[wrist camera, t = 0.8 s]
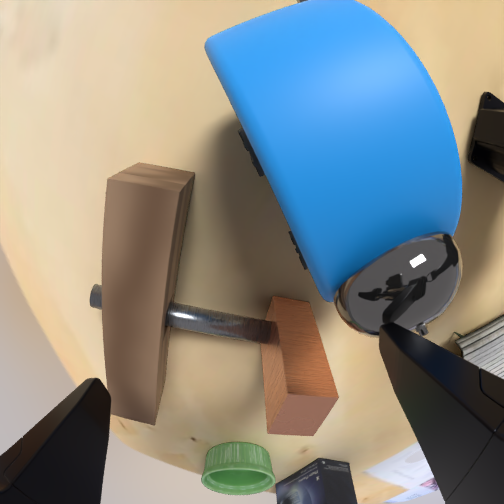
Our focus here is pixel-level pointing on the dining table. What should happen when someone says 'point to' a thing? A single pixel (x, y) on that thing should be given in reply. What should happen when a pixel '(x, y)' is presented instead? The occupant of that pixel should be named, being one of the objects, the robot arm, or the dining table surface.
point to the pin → (272, 358)
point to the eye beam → (140, 282)
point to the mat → (485, 347)
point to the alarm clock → (351, 156)
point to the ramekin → (238, 469)
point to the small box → (318, 484)
